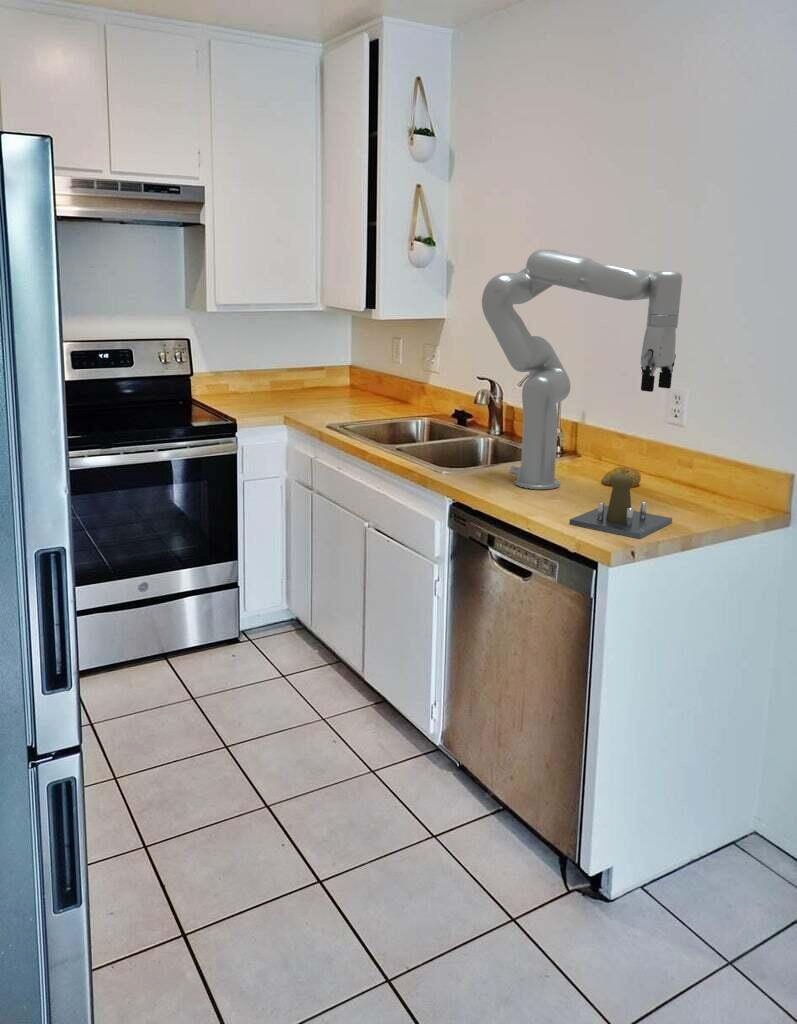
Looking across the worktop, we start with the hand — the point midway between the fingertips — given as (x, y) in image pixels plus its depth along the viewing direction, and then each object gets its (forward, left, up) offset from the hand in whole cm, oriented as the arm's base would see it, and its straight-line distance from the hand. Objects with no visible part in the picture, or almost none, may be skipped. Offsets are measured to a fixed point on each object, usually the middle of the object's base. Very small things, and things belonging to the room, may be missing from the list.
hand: (655, 389), depth 235 cm
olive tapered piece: (+5, -27, -28) cm, 39 cm away
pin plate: (+5, -26, -29) cm, 40 cm away
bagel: (-13, +13, -30) cm, 35 cm away
